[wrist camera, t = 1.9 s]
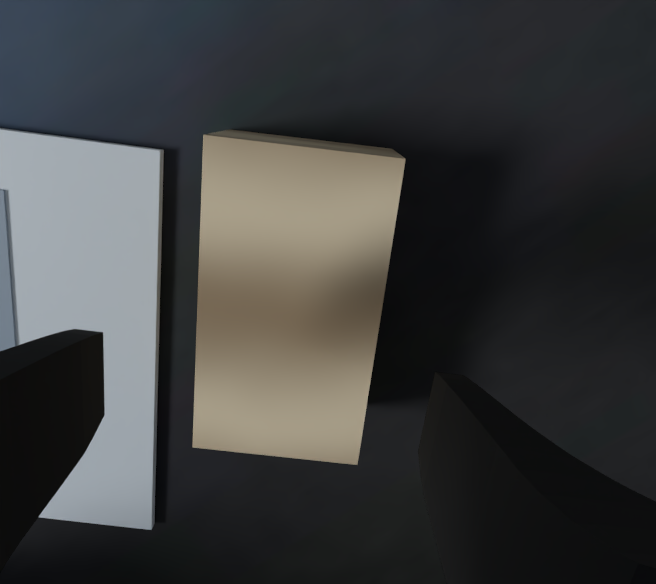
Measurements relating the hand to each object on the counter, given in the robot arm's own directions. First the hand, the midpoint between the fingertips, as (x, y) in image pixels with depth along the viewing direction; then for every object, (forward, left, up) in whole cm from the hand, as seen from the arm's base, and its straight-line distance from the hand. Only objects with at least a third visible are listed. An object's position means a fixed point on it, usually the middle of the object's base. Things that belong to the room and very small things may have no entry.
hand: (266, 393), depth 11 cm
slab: (0, 0, -9) cm, 9 cm away
